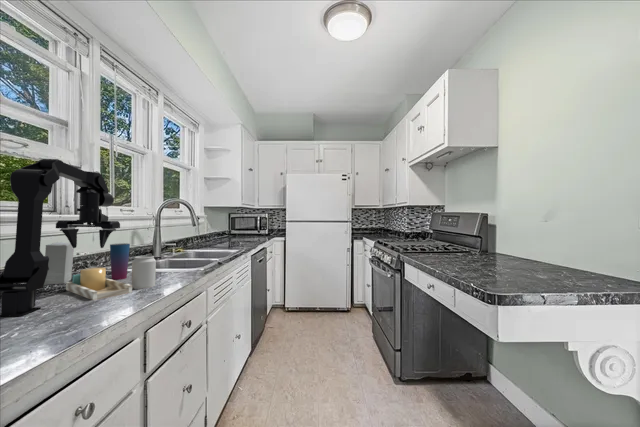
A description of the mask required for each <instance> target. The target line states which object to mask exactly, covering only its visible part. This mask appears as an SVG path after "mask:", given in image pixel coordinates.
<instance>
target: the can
mask: <svg viewBox="0 0 640 427" xmlns="http://www.w3.org/2000/svg"><path fill="white" fill-rule="evenodd" d="M133 258H134V259H133V260H132V262H131V285H132V290H143V289H144V290H145V289H150V288H154V287H156V271H157V270H156V268H157V260H156V259H155V256H154V255H137V256H134V257H133Z"/></svg>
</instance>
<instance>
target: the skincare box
mask: <svg viewBox="0 0 640 427" xmlns="http://www.w3.org/2000/svg"><path fill="white" fill-rule="evenodd" d="M74 249H75V248H73V247H72V245H71V243H70V242H62V241H61V242H58V241H57V242H52V243H49V244H46V245H45V254H44V256H48V257H49V263H48V267H49V270H48V273H47V276H46V280H45V283H44V286H43V287H45V286H49V285H60V284H61V285H62V284H64V285H65V284H66V282H70V281H71V280H72V278H73V273H72V272H73V263H74V262H73V261H74Z"/></svg>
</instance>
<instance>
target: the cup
mask: <svg viewBox="0 0 640 427" xmlns="http://www.w3.org/2000/svg"><path fill="white" fill-rule="evenodd" d="M130 248H131V243H128V242H126V243H124V242H123V243H121V242H119V243H110V244H109V249H110V252H109V254H110V272H111V279H112V280H115V281H119V280H125V279H127V278H128V269H129V268H128V267H129V256H130Z"/></svg>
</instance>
